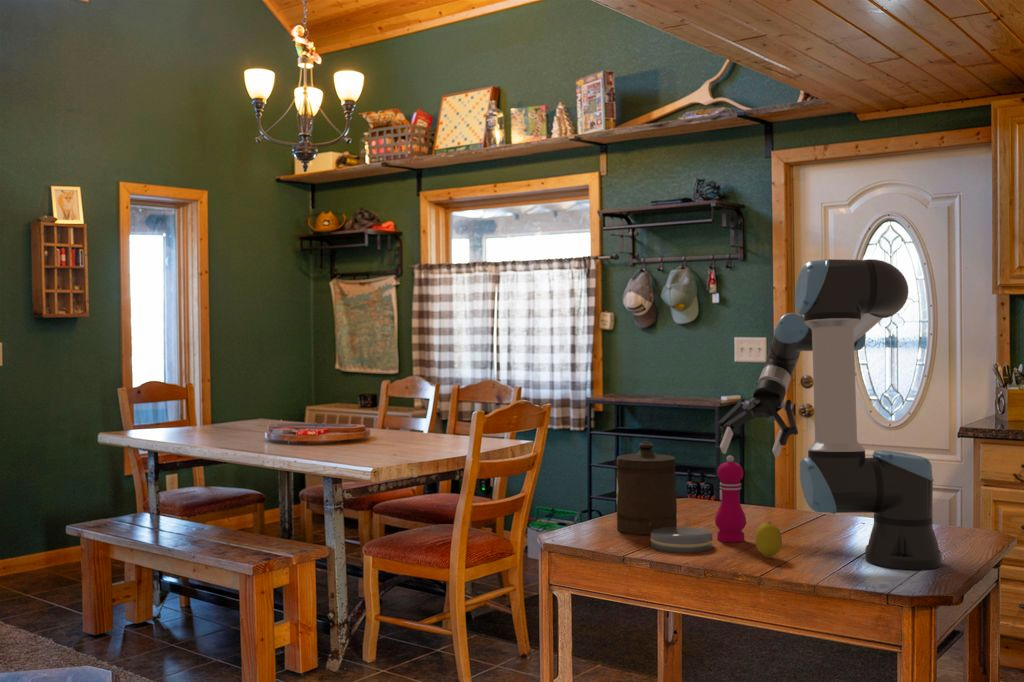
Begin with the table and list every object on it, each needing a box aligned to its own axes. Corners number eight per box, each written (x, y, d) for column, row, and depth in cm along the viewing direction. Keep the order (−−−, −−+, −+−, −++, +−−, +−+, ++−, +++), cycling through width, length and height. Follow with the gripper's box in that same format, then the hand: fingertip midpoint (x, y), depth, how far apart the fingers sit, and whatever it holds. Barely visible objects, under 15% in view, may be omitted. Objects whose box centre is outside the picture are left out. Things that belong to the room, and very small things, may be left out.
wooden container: (643, 521, 256) (643, 436, 255) (688, 529, 244) (688, 441, 244) (604, 529, 246) (603, 441, 246) (649, 538, 235) (648, 446, 234)
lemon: (781, 556, 215) (781, 519, 215) (781, 561, 210) (781, 524, 209) (756, 554, 216) (755, 518, 216) (755, 560, 211) (755, 523, 211)
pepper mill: (744, 536, 235) (743, 453, 235) (748, 543, 228) (747, 457, 228) (713, 536, 236) (713, 453, 235) (716, 543, 228) (716, 457, 228)
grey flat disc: (724, 549, 222) (724, 536, 222) (670, 555, 217) (670, 541, 217) (691, 537, 235) (691, 524, 235) (639, 542, 230) (639, 529, 230)
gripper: (823, 399, 247) (802, 465, 235) (730, 395, 262) (706, 458, 250) (815, 379, 242) (793, 445, 230) (722, 376, 257) (696, 439, 245)
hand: (748, 452), depth 240 cm, fingers open, 13 cm apart
